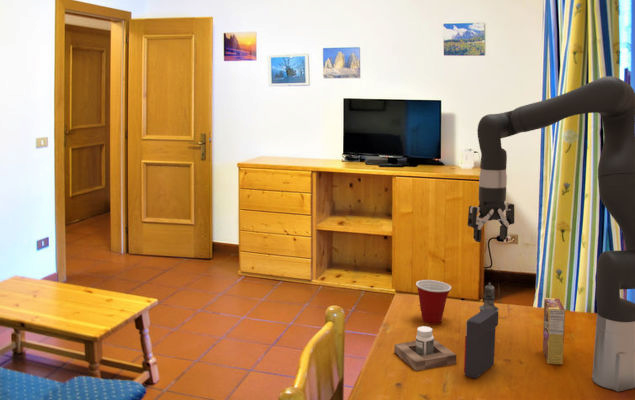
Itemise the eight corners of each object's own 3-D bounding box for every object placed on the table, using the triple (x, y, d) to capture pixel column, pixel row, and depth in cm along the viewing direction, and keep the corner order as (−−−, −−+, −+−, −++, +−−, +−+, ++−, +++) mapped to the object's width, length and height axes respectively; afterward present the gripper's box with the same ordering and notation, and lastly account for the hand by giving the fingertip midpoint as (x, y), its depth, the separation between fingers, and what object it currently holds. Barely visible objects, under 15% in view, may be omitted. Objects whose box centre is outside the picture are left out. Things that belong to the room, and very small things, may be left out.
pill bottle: (432, 354, 173) (433, 325, 172) (434, 362, 168) (434, 332, 167) (415, 354, 173) (415, 325, 172) (416, 361, 169) (416, 332, 167)
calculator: (480, 360, 169) (483, 307, 166) (496, 365, 166) (498, 310, 164) (462, 375, 161) (463, 319, 158) (477, 380, 158) (480, 323, 155)
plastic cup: (453, 327, 192) (455, 289, 190) (418, 327, 192) (418, 289, 190) (446, 314, 203) (447, 278, 201) (412, 314, 203) (413, 278, 201)
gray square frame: (456, 363, 167) (456, 354, 167) (415, 371, 163) (416, 361, 163) (432, 346, 179) (432, 338, 178) (394, 352, 174) (394, 344, 174)
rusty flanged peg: (474, 317, 200) (476, 281, 198) (489, 314, 203) (491, 278, 200) (487, 323, 195) (488, 286, 193) (502, 320, 197) (503, 283, 195)
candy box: (541, 350, 176) (544, 297, 173) (557, 351, 175) (560, 298, 172) (545, 363, 167) (548, 308, 164) (562, 365, 166) (566, 309, 163)
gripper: (479, 188, 174) (476, 245, 177) (522, 185, 179) (519, 241, 182) (463, 184, 181) (461, 239, 184) (505, 181, 186) (503, 235, 189)
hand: (490, 240), depth 183 cm, fingers open, 8 cm apart
